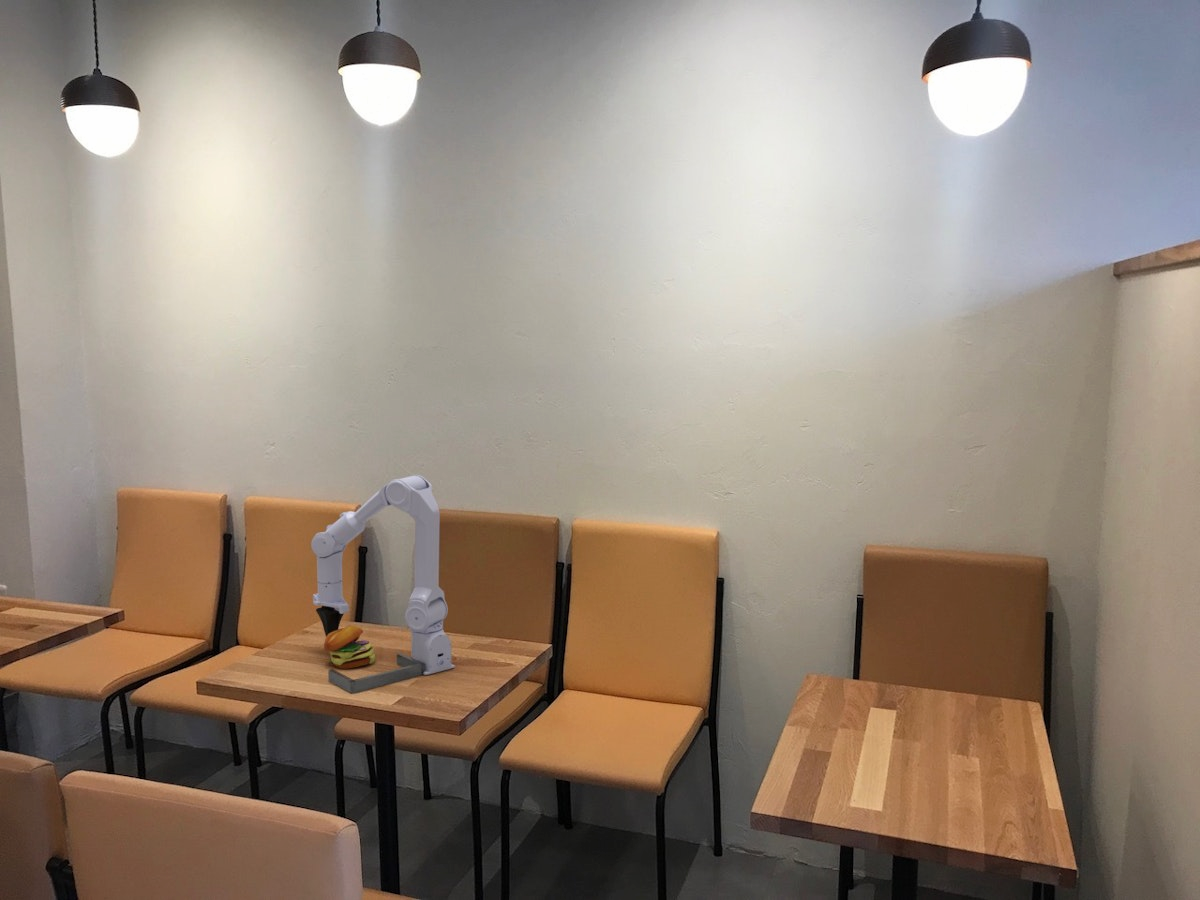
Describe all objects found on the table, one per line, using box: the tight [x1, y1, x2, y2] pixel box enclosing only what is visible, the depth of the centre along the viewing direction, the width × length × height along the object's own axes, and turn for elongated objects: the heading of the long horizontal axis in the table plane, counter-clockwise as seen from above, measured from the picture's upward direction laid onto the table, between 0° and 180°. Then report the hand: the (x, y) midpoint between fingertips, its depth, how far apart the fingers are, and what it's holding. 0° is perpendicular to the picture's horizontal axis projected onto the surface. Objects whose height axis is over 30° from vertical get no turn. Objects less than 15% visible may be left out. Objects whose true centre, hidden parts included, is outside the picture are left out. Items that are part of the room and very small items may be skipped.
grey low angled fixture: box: [327, 652, 425, 695], centre depth 207 cm, size 10×18×2 cm, turn 133°
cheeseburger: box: [323, 624, 376, 670], centre depth 217 cm, size 10×11×10 cm
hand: (331, 637), depth 223 cm, fingers closed
